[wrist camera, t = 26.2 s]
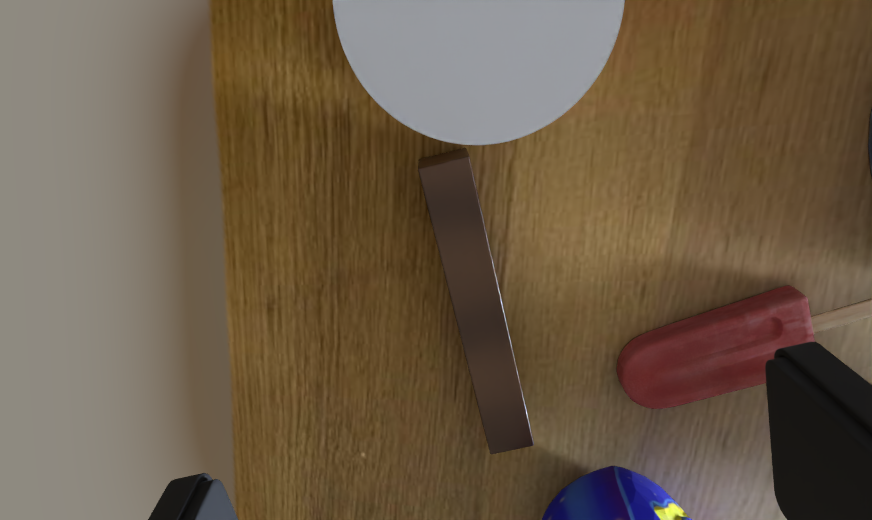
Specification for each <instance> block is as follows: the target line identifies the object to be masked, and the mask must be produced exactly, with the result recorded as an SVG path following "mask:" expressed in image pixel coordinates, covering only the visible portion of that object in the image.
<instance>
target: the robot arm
mask: <svg viewBox="0 0 872 520" xmlns="http://www.w3.org/2000/svg"><path fill="white" fill-rule="evenodd" d="M765 373H766V386H767V399H768V413H769V426H770V439H771V452H772V466H773V479H774V491H775V496H776V499H777V502H778V505H779V507H780V509H781V511H782V513H783V514H784V516H785V517H786V518H787V520H872V385H871V384H869V383H868V382H867V381H866V380H864V379H863V378H862V377H861V376H859V375H858V374H857V373H856V372H854V371H853V370H852V369H850V368H849V367H848V366H847V365H845V364H844V363H843V362H842V361H840V360H839V359H838V358H837V357H835V356H834V355H833V354H831V353H830V352H829V351H828V350H826V349H825V348H824V347H823V346H821V345H820V344H818V343H817V342H807V343H802V344H798V345H793V346H788V347H784V348H779V349H777V350H776V351H775V354H774V359H771V360H768V361H767V362H766V365H765ZM148 520H238V518H237V516H236V513H235V511H234V509H233V506H232V504H231V502H230V499H229V497H228V495H227V492H226V490H225V488H224V486H223V484H222V482H221V481H220V480H218V479H215V480H212V478H211V477H210V476H209V475H208V474H206V473H202V474H198V475H193V476H188V477H184V478H179V479H175V480H173V481H171V482H170V483H169V484H168V486H167V487H166V489H165V491H164V493H163V495H162V496H161V498H160V500H159V501H158V503H157V505H156V507H155V509H154V510H153V512H152V514H151V516H150V517H149V519H148Z"/></svg>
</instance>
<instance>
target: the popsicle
mask: <svg viewBox="0 0 872 520" xmlns="http://www.w3.org/2000/svg"><path fill="white" fill-rule="evenodd" d="M869 317H872V299H868V300H865V301H862V302H858V303H855V304H851V305H848V306H845V307H841V308H838V309H835V310H831V311H828V312H825V313H821V314H818V315H814V316H810V309H809V304H808V298H807V297H806V296H805V295H803V294H802V293H801V292H799V291H798V290H797V289H795V288H794V287H792V286H790V285H788V286H784V287H780V288H777V289H774V290H771V291H768V292H766V293H763V294H760V295H757V296H754V297H751V298H748V299H745V300H742V301H739V302H736V303H733V304H730V305H727V306H724V307H721V308H718V309H715V310H712V311H709V312H706V313H703V314H700V315H697V316H694V317H691V318H688V319H685V320H682V321H679V322H676V323H673V324H670V325H667V326H664V327H661V328H658V329H655V330H652V331H649V332H646V333H644V334H642V335H640V336H638V337H636V338H635V339H633V340H631V341H630V342H629V343H628V344H627V345H626V346H625V348H624V349H623V351H622V352H621V354H620V356H619V358H618V363H617V375H618V378H619V381H620V383H621V385H622V387H623V389H624V391H625V392H626V394H627V395H628V396H629V397H630V399H631V400H632V401H634V402H635V403H637V404H639V405H641V406H644V407H647V408H652V409H663V408H669V407H675V406H679V405H683V404H687V403H690V402H694V401H698V400H702V399H706V398H710V397H714V396H718V395H722V394H726V393H729V392H733V391H737V390H741V389H745V388H749V387H753V386H757V385H760V384H764V383H766V373H765V365H766V362H767V361H768V360H771V359H774V354H775V351H776V350H777V349H779V348H784V347H788V346H793V345H798V344H802V343H807V342H815V340H814V333H818V332H821V331H824V330H828V329H831V328H835V327H838V326H841V325H845V324H848V323H852V322H855V321H858V320H862V319H865V318H869Z"/></svg>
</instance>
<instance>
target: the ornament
mask: <svg viewBox="0 0 872 520" xmlns="http://www.w3.org/2000/svg"><path fill="white" fill-rule="evenodd" d="M542 520H692V519H690V518H689V517H688V516H687V514H686V513H685V512H684V511H683V510H682V509H681V507H680V506H679V505H678V504H677V503H676V502H675V501H674V500H673V499H672V498H671V497H670V496H669V495H668V494H667V493H666V492H665V491H664V490H663V489H662V488H661V487H660V486H658V485H657V484H655V483H654V482H652V481H651V480H650V479H648V478H647V477H645V476H642V475H640V474H637V473H635V472H633V471H630V470H628V469H625V468H622V467H617V466H610V467H606V468H603V469H599V470H596V471H594V472H591V473H589V474H587V475H584V476H582V477H580V478H578V479H577V480H575V481H574V482H572V483H571V484H569V485H568V486H566V487H565V488H563V489H562V490H561V491H560V492H559V493H558V495H557V496H556V497H555V498H554V499H553V500H552V502H551V503H550V504H549V506H548V508H547V510H546V511H545V514H544V516H543V518H542Z"/></svg>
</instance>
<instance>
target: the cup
mask: <svg viewBox="0 0 872 520" xmlns="http://www.w3.org/2000/svg"><path fill="white" fill-rule="evenodd" d="M624 3H625V0H333V9H334V15H335V22H336V26H337V31H338V35H339V38H340V41H341V44H342V47H343V50H344V52H345V55H346V57H347V59H348V61H349V63H350V66H351V67H352V69H353V71H354V73H355V74H356V76H357V78H358V79H359V81H360V82H361V84H362V85H363V87H364V88H365V89H366V90H367V92H368V93H369V94H370V95H371V97H372V98H373V99H374V100H375V101H376V102H377V103H378V104H379V105H380V106H381V107H382V108H383V109H384V110H385V111H386V112H388V113H389V114H390V115H391V116H393V117H394V118H395V119H397V120H398V121H400V122H401V123H403V124H404V125H406V126H408V127H409V128H411V129H413V130H415V131H417V132H419V133H421V134H424V135H426V136H429V137H431V138H434V139H438V140H441V141H445V142H450V143H456V144H464V145H488V144H496V143H502V142H507V141H510V140H514V139H518V138H520V137H523V136H526V135H529V134H531V133H533V132H535V131H537V130H539V129H541V128H543V127H545V126H547V125H548V124H550V123H551V122H553V121H555V120H556V119H557V118H559V117H560V116H561V115H563V114H564V113H565V112H567V111H568V110H569V109H570V108H571V107H572V106H573V105H574V104H575V103H576V102H577V101H578V100H579V99H580V98H581V97H582V96H583V95H584V94H585V93H586V92H587V90H588V89H589V88H590V87H591V85H592V84H593V83H594V81H595V80H596V79H597V77H598V75H599V74H600V72H601V71H602V69H603V67H604V65H605V63H606V62H607V60H608V58H609V56H610V53H611V51H612V49H613V46H614V44H615V41H616V38H617V35H618V32H619V28H620V25H621V20H622V16H623V10H624Z"/></svg>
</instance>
